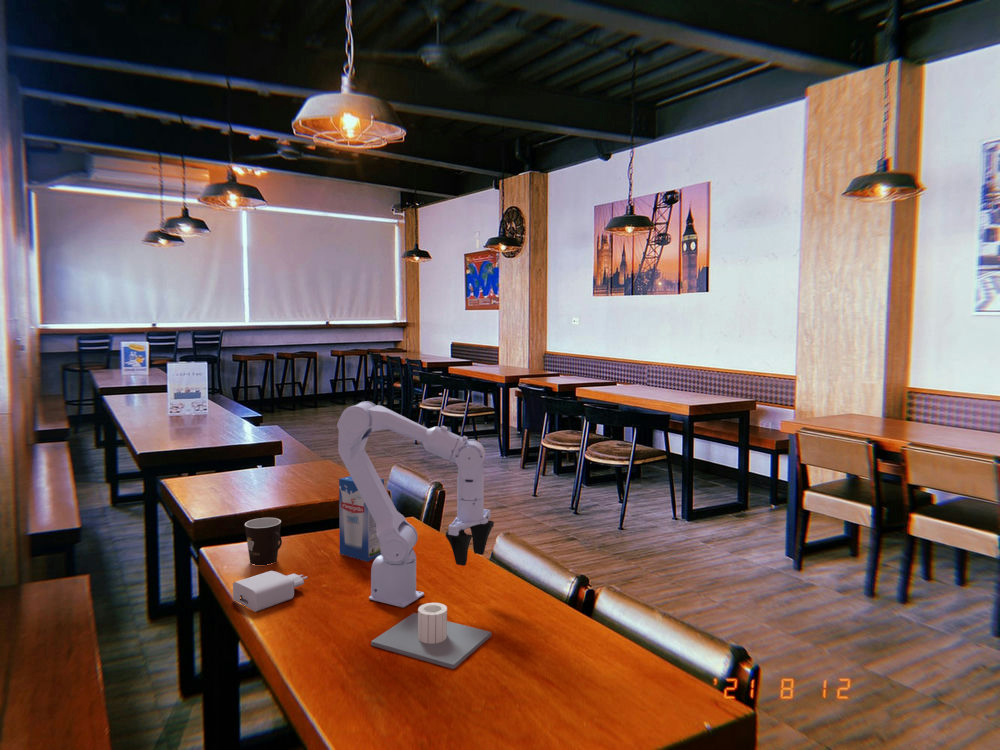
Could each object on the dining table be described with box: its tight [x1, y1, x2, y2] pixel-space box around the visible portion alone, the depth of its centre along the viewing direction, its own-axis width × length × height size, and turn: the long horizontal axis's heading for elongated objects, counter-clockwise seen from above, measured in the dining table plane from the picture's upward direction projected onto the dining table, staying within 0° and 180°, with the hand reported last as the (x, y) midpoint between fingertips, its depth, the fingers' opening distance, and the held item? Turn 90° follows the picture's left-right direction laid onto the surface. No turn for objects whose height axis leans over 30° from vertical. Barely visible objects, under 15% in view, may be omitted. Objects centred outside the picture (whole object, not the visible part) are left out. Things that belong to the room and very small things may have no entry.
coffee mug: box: [244, 517, 283, 566], centre depth 164 cm, size 12×9×10 cm
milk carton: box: [338, 475, 385, 562], centre depth 171 cm, size 10×6×20 cm, turn 58°
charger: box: [232, 570, 308, 613], centre depth 145 cm, size 5×9×15 cm
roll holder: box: [370, 612, 492, 670], centre depth 125 cm, size 18×14×3 cm
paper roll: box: [417, 602, 448, 644], centre depth 125 cm, size 5×5×6 cm
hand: (470, 559), depth 143 cm, fingers open, 7 cm apart
